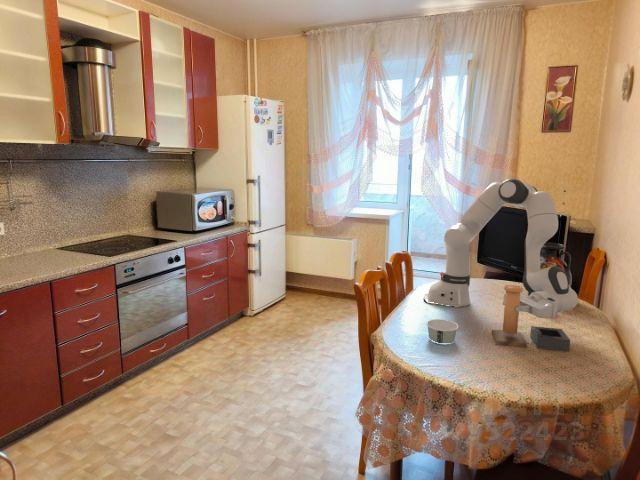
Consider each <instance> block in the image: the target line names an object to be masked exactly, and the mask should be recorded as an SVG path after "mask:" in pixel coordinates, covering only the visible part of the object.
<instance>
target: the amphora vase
mask: <svg viewBox="0 0 640 480" xmlns="http://www.w3.org/2000/svg"><path fill="white" fill-rule="evenodd" d="M566 247H567V246H565V245H564V244H561V243H556V242H548V241H546V242H545V244H544V245H543V246H542V248H541V250H540V270H541V269H544V268H549V267H553V266H557V267H559V268H561V269H563V270H564V271H565V273H566V274H567V277H568V281H569V286H570V287H571V286H572V282H573V281H572V280H573V278H572V273H571V261H572V256H571V254H570V253H569V252H568V251H562V250H565V249H566ZM561 251H562V252H561ZM563 255H566V258H567V261H564V259H563ZM528 295H529V292H528V291H527V296H528Z"/></svg>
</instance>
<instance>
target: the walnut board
mask: <svg viewBox="0 0 640 480" xmlns="http://www.w3.org/2000/svg"><path fill="white" fill-rule="evenodd" d="M491 336H492V339H493V342H494V344H495V345H501V346H511V347H521V348H527V345H528V344H527V341H526V339H525V338H524V337H525V336H524V335H523V334H522V332H520V331H517V333H516V334H508V333H505V332H503V330H500V329H499V330H498V329H491Z"/></svg>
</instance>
